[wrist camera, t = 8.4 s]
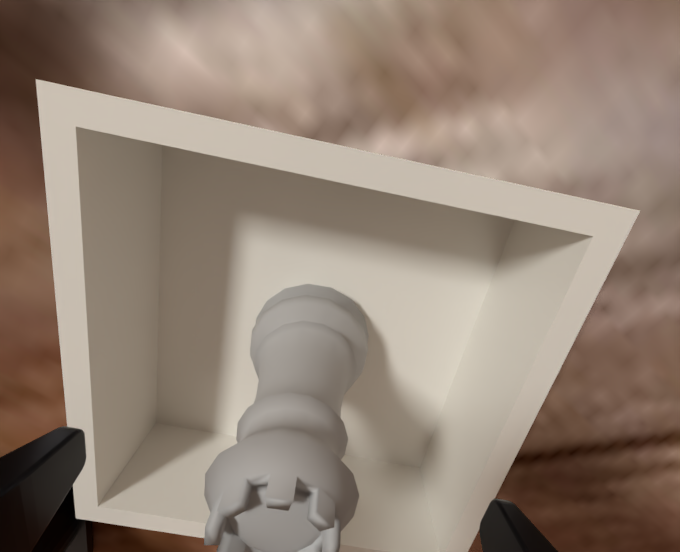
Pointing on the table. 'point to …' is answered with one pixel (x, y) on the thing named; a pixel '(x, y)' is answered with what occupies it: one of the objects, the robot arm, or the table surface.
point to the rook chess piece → (292, 430)
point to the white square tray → (293, 270)
